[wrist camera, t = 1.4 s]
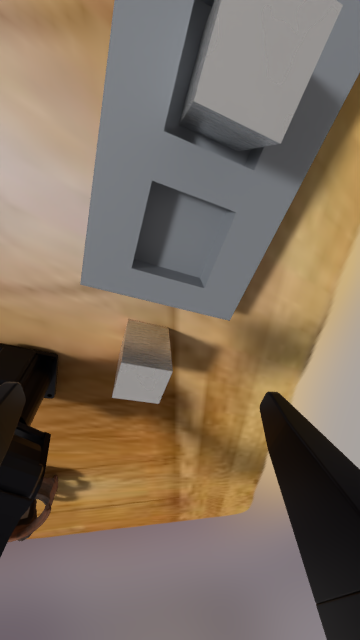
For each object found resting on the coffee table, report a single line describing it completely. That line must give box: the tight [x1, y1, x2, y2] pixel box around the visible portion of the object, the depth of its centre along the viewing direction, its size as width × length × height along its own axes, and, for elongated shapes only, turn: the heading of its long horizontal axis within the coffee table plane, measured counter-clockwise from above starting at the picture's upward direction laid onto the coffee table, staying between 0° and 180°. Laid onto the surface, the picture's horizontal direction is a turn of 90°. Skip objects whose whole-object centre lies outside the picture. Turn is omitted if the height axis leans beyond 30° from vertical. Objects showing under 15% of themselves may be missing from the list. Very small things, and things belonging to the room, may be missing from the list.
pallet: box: [80, 0, 360, 321], centre depth 15 cm, size 18×12×3 cm, turn 161°
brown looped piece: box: [8, 475, 58, 542], centre depth 35 cm, size 12×10×8 cm
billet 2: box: [179, 0, 343, 151], centre depth 11 cm, size 4×4×6 cm
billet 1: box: [112, 319, 173, 404], centre depth 21 cm, size 4×4×6 cm
